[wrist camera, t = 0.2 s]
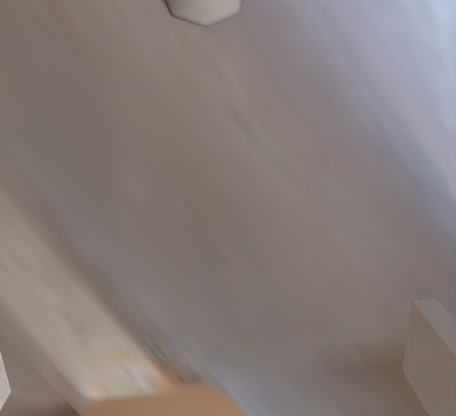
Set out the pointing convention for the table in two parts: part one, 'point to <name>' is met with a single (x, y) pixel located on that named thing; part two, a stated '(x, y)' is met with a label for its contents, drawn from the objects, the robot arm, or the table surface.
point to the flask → (204, 10)
